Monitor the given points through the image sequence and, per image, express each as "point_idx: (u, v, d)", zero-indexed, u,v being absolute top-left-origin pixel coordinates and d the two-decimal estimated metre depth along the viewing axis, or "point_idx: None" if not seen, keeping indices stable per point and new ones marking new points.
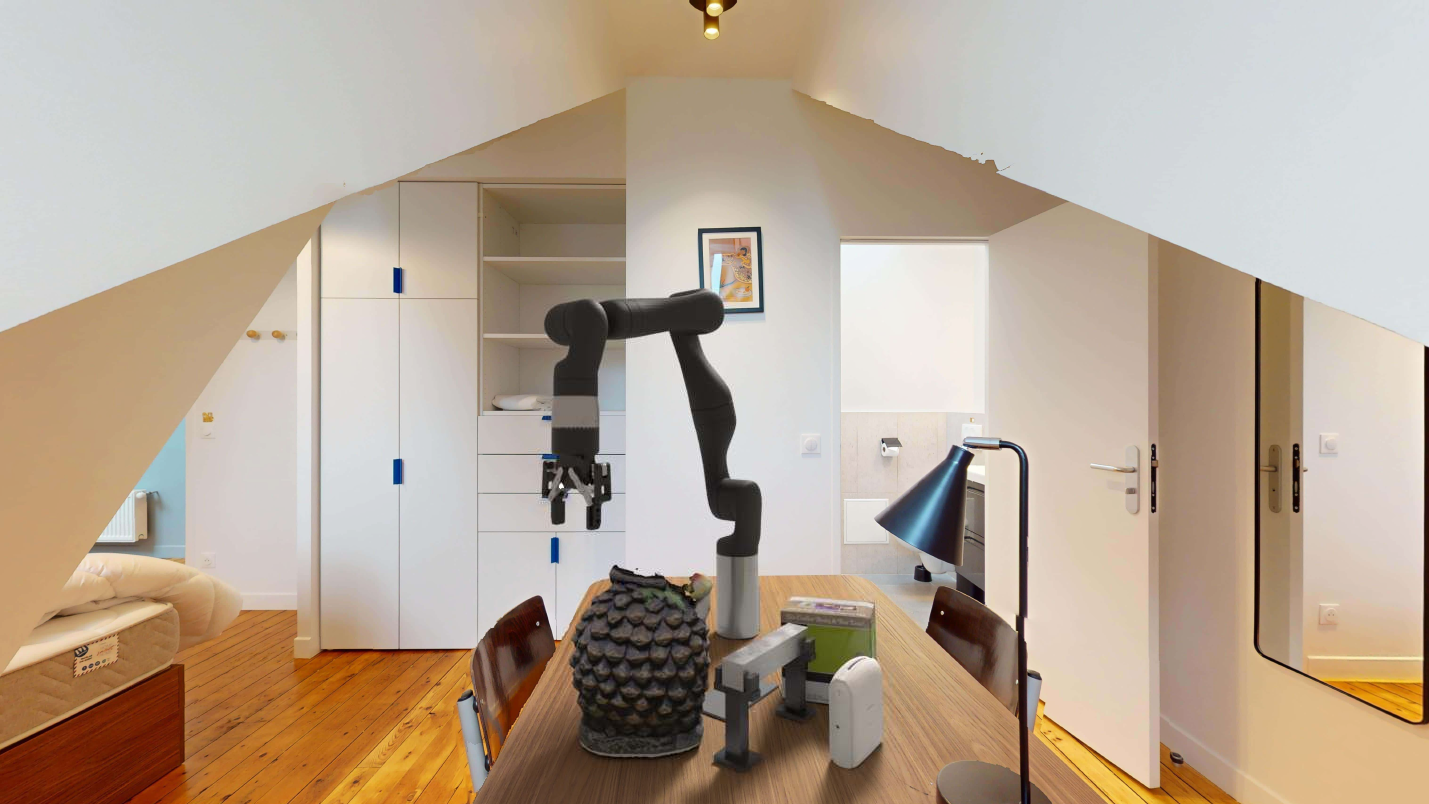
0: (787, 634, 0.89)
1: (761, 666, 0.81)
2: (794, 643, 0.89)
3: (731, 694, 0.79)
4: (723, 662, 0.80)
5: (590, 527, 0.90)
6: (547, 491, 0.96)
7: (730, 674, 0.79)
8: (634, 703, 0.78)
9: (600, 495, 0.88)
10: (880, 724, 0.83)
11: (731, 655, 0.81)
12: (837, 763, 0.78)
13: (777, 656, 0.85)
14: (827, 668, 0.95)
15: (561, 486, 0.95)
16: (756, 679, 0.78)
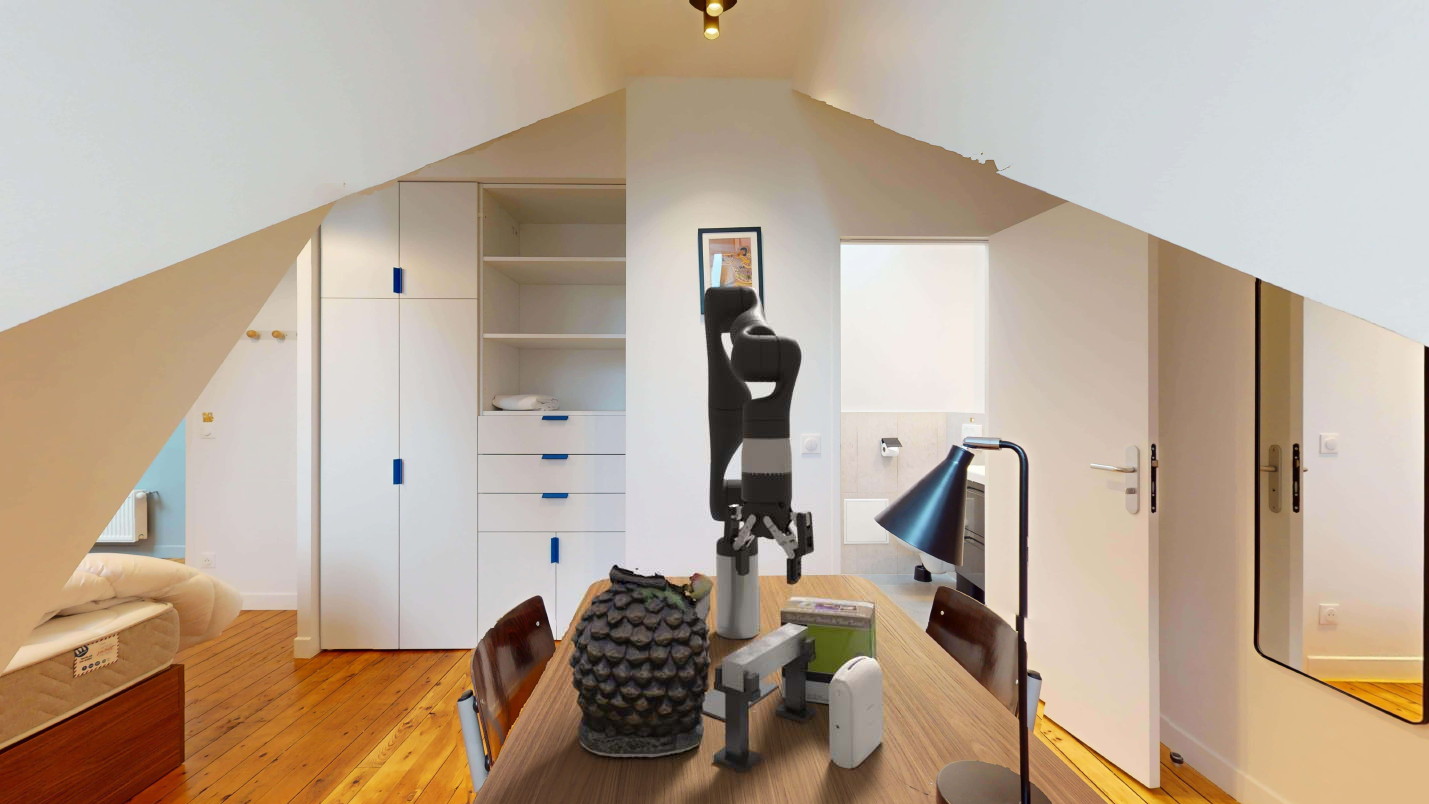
0: (787, 634, 0.89)
1: (761, 666, 0.81)
2: (794, 643, 0.89)
3: (731, 694, 0.79)
4: (723, 662, 0.80)
5: (791, 581, 0.83)
6: (730, 539, 0.90)
7: (730, 674, 0.79)
8: (634, 703, 0.78)
9: (806, 548, 0.82)
10: (880, 724, 0.83)
11: (731, 655, 0.81)
12: (837, 763, 0.78)
13: (777, 656, 0.85)
14: (827, 668, 0.95)
15: (748, 534, 0.88)
16: (756, 679, 0.78)
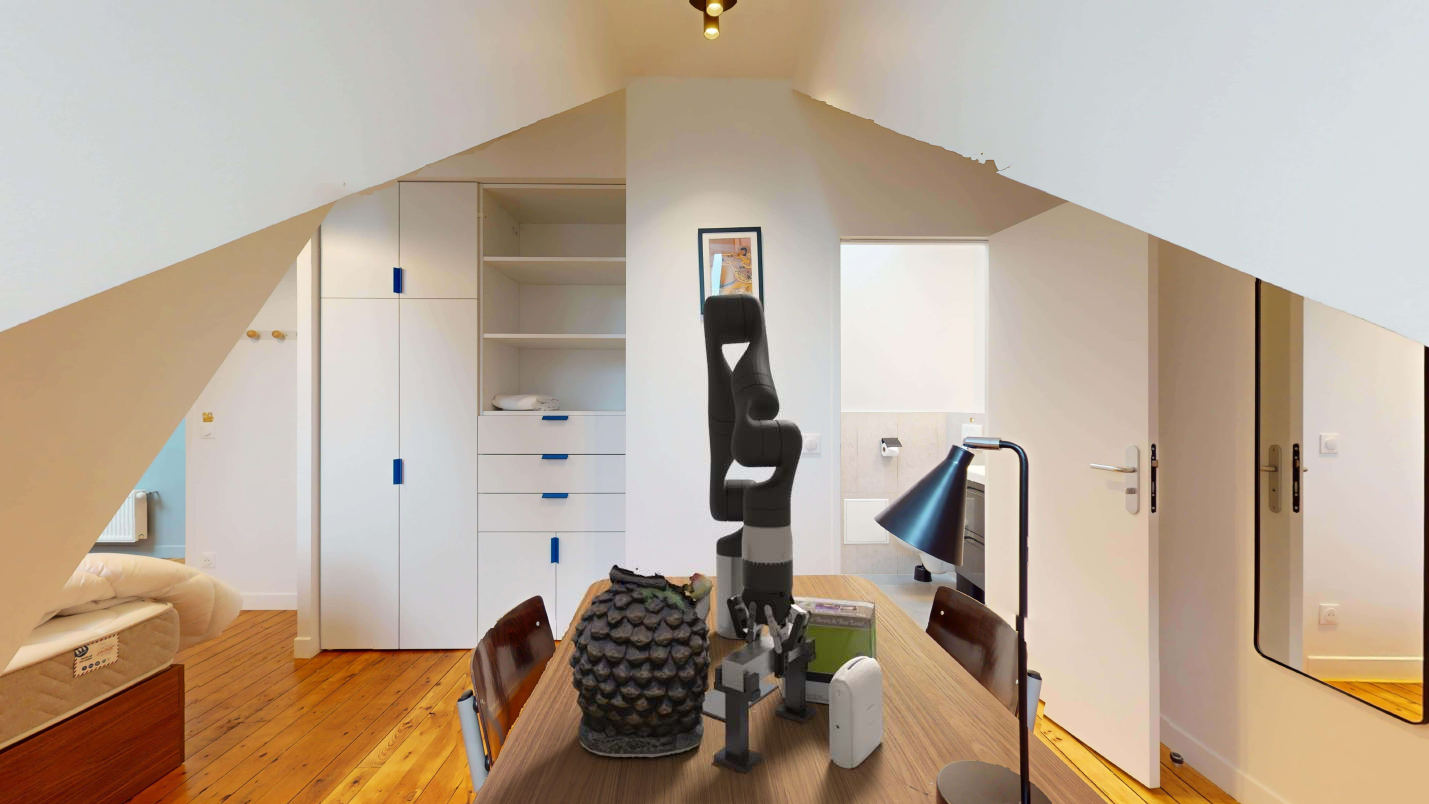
0: None
1: (761, 666, 0.81)
2: None
3: (731, 694, 0.79)
4: (723, 662, 0.80)
5: (779, 675, 0.84)
6: (742, 631, 0.88)
7: (730, 674, 0.79)
8: (634, 703, 0.78)
9: (794, 646, 0.82)
10: (880, 724, 0.83)
11: (731, 655, 0.81)
12: (837, 763, 0.78)
13: None
14: (827, 668, 0.95)
15: (756, 624, 0.87)
16: (756, 679, 0.78)
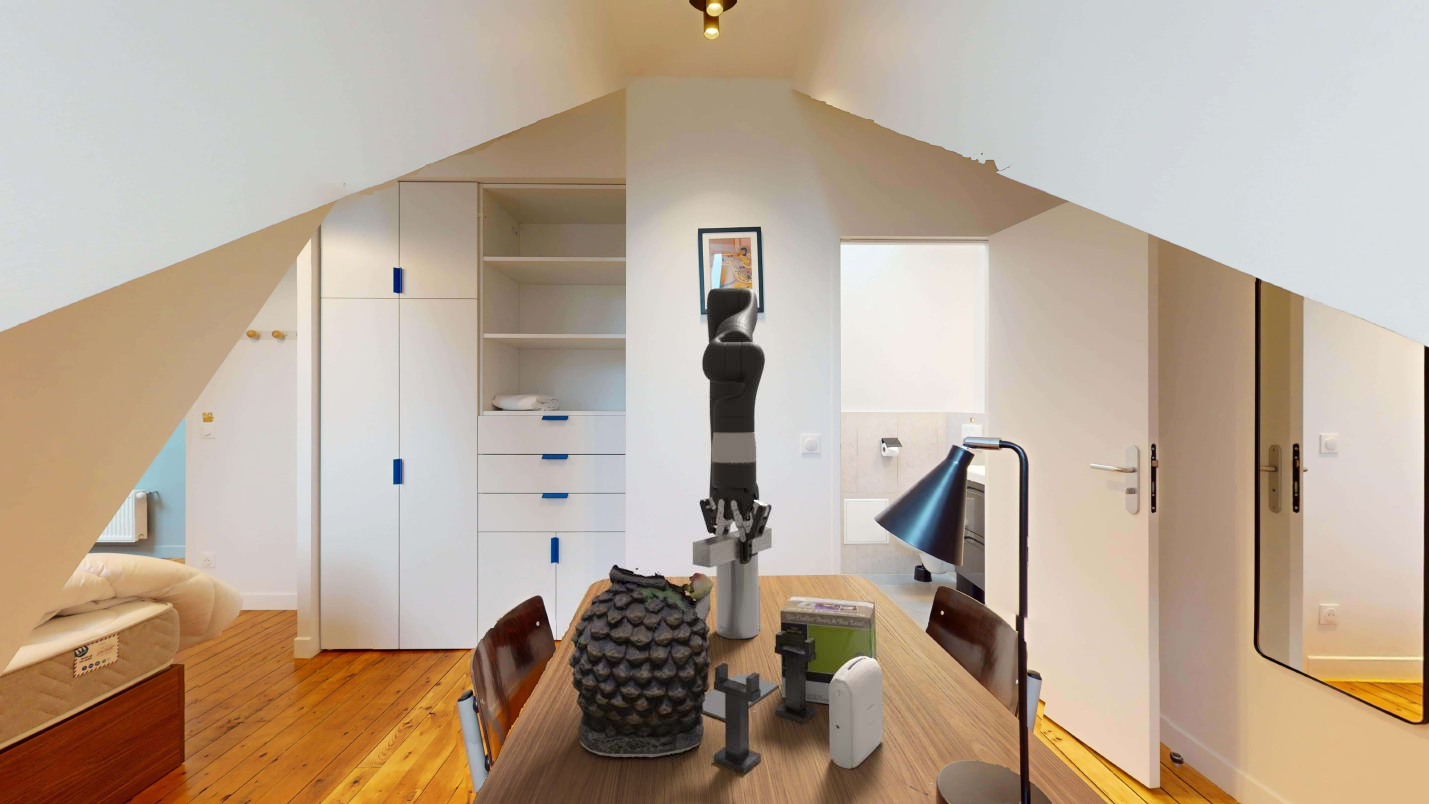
0: None
1: (727, 550, 0.94)
2: (758, 538, 1.02)
3: (731, 694, 0.79)
4: (693, 545, 0.93)
5: (743, 561, 0.97)
6: (713, 527, 1.01)
7: (699, 555, 0.92)
8: (634, 703, 0.78)
9: (756, 534, 0.95)
10: (880, 724, 0.83)
11: (701, 540, 0.94)
12: (837, 763, 0.78)
13: None
14: (827, 668, 0.95)
15: (725, 520, 1.00)
16: (756, 679, 0.78)
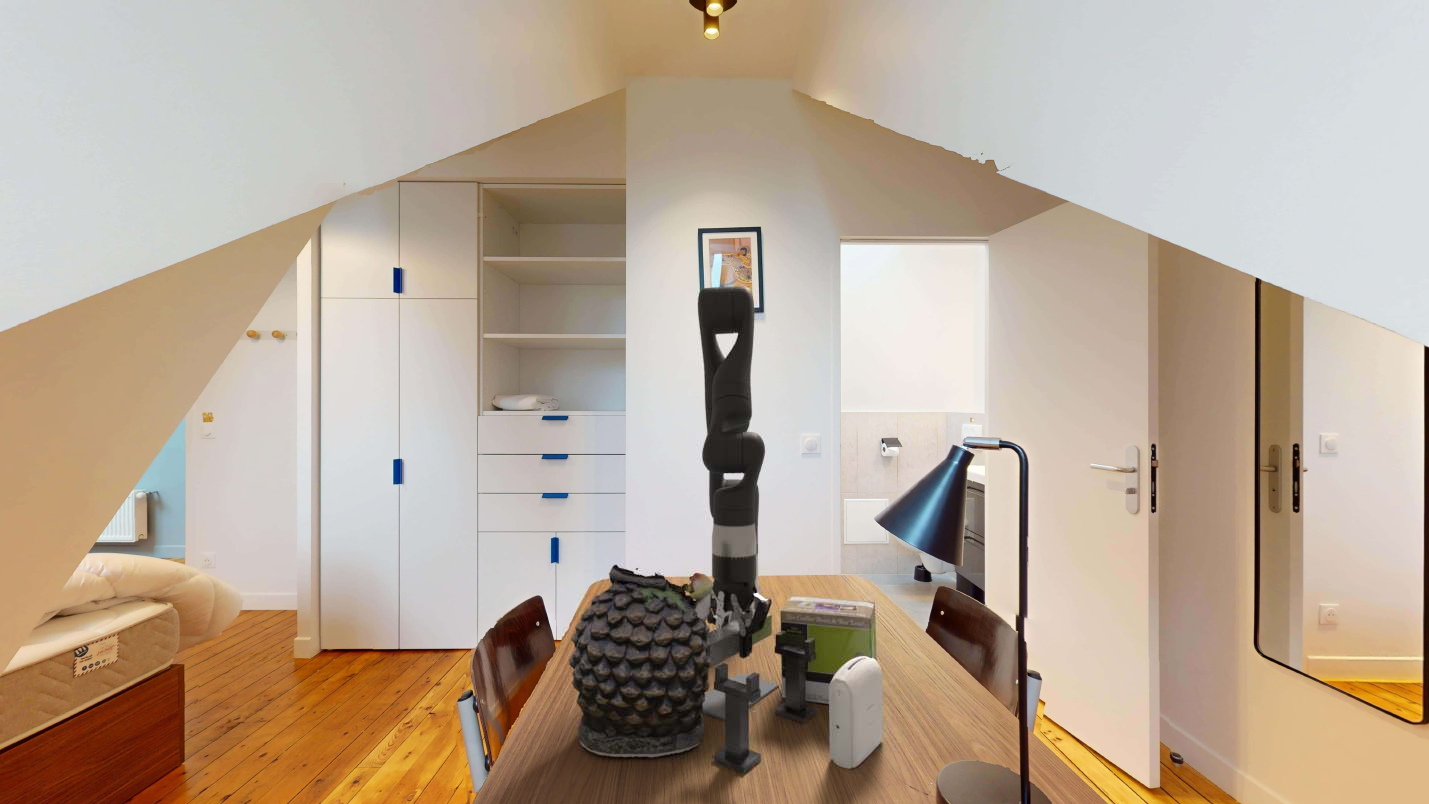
0: None
1: (727, 647, 0.94)
2: None
3: (731, 694, 0.79)
4: None
5: (743, 655, 0.96)
6: (712, 617, 1.00)
7: None
8: (634, 703, 0.78)
9: (756, 629, 0.94)
10: (880, 724, 0.83)
11: None
12: (837, 763, 0.78)
13: None
14: (827, 668, 0.95)
15: (724, 611, 0.99)
16: (756, 679, 0.78)
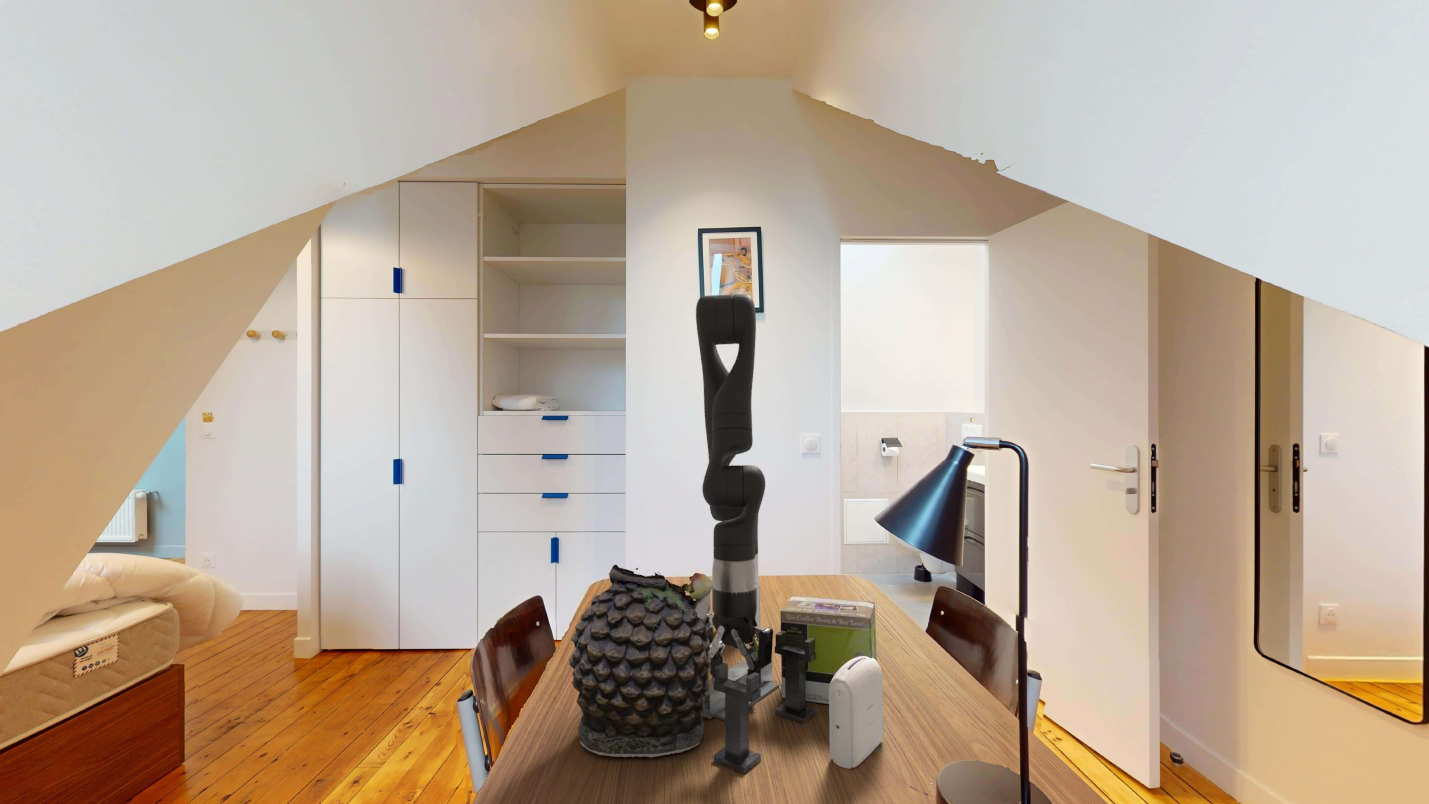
0: None
1: None
2: None
3: (731, 694, 0.79)
4: None
5: None
6: None
7: None
8: (634, 703, 0.78)
9: (764, 662, 0.93)
10: (880, 724, 0.83)
11: None
12: (837, 763, 0.78)
13: None
14: (827, 668, 0.95)
15: (720, 642, 0.99)
16: (756, 679, 0.78)
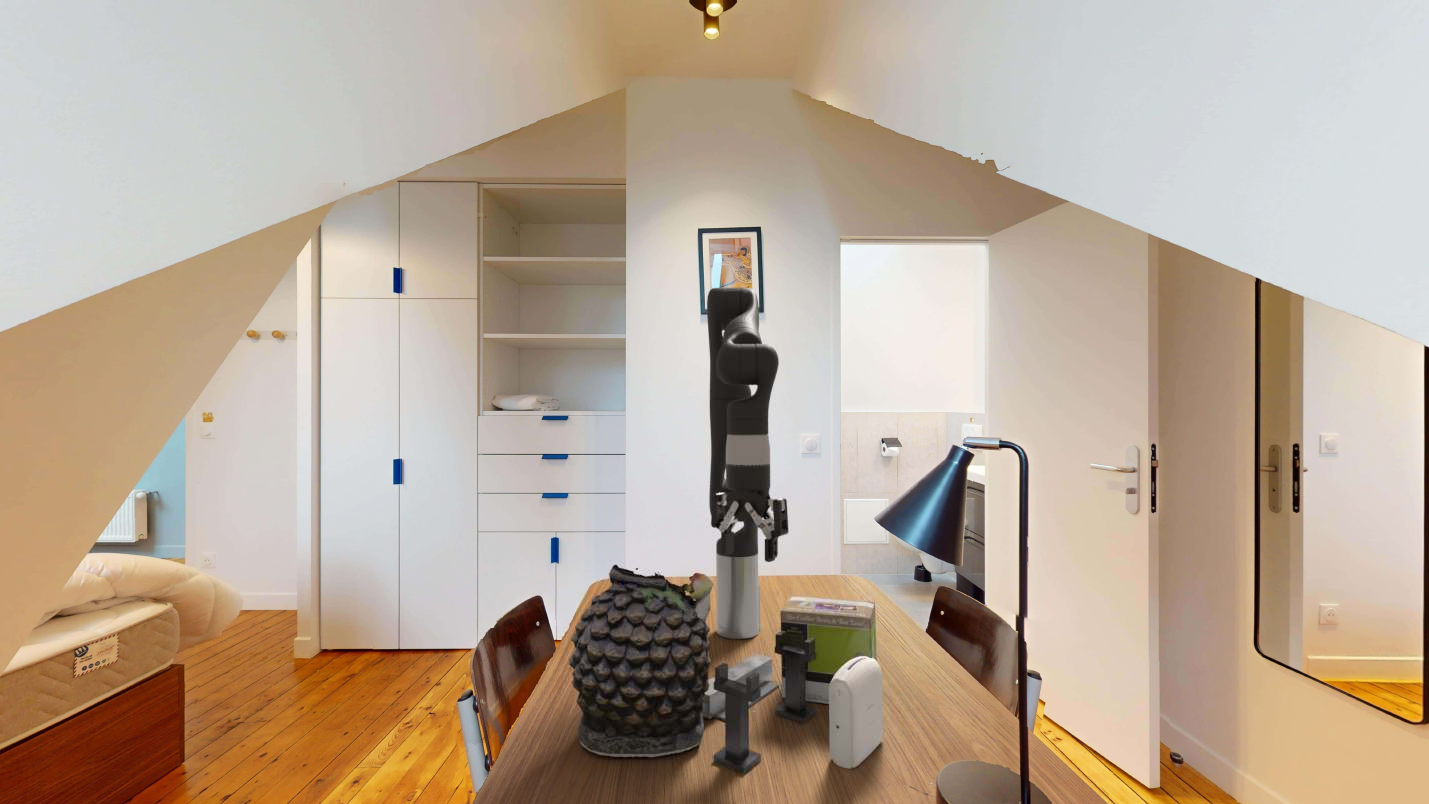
0: (753, 665, 1.01)
1: None
2: (759, 673, 1.01)
3: (731, 694, 0.79)
4: None
5: (769, 559, 0.95)
6: (717, 522, 1.02)
7: None
8: (634, 703, 0.78)
9: (781, 529, 0.94)
10: (880, 724, 0.83)
11: None
12: (837, 763, 0.78)
13: None
14: (827, 668, 0.95)
15: (732, 518, 1.01)
16: (756, 679, 0.78)
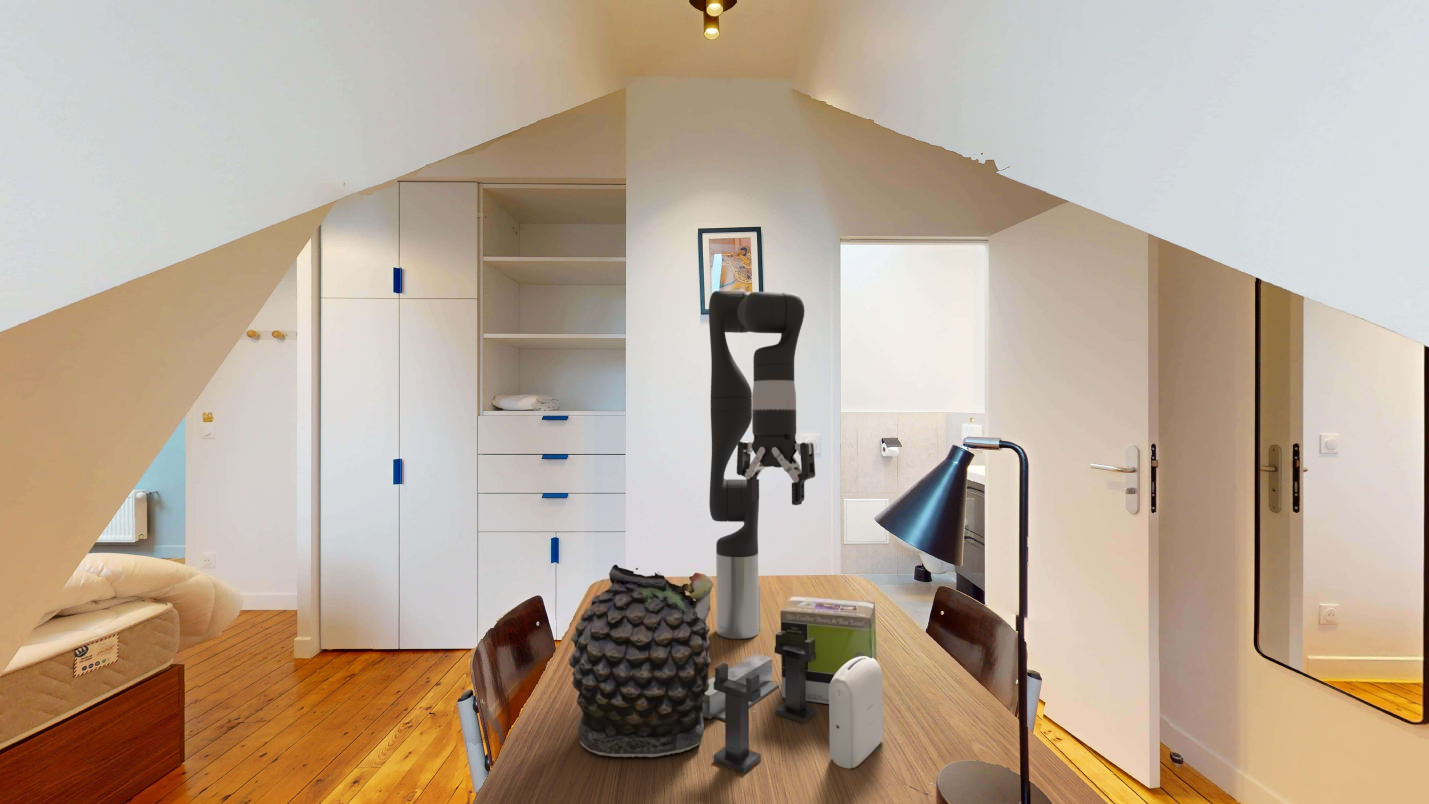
0: (753, 665, 1.01)
1: None
2: (759, 673, 1.01)
3: (731, 694, 0.79)
4: None
5: (796, 502, 0.96)
6: (743, 470, 1.03)
7: None
8: (634, 703, 0.78)
9: (808, 472, 0.95)
10: (880, 724, 0.83)
11: None
12: (837, 763, 0.78)
13: None
14: (827, 668, 0.95)
15: (758, 465, 1.02)
16: (756, 679, 0.78)
